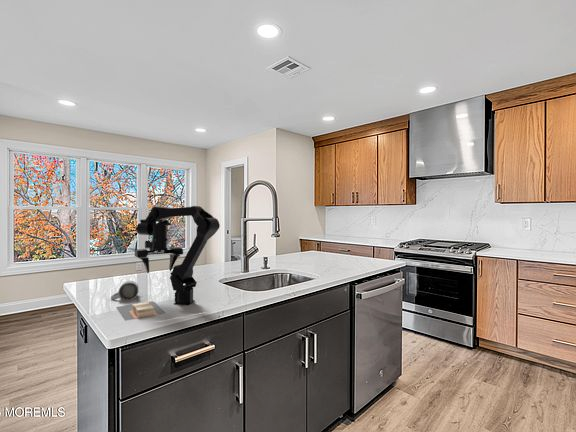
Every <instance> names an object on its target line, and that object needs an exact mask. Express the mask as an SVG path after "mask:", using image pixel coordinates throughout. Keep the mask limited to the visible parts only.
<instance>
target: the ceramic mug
mask: <svg viewBox="0 0 576 432" xmlns="http://www.w3.org/2000/svg"><path fill="white" fill-rule="evenodd" d="M138 295H139V285H138V283H137V282H135V281H134V280H125V281H124V282H122V284H121V285H120V287H119V288H118V291H117V292H116V293H114V294H112V295H111V296H110V299H111V300H112V301H115V300H118V299H121V300H122V301H127V299H130V300H132V301H133V300H134V299H135V298H137V296H138Z"/></svg>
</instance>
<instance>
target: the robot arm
mask: <svg viewBox="0 0 576 432" xmlns="http://www.w3.org/2000/svg"><path fill="white" fill-rule="evenodd" d="M189 216H191V217H192V219H193V222H194V223H195V224H196V226H197V227H196V236H195V238H194V240H193V242H192V243H191V246H190V247H189V250H188V251H187V253H186V255H185V256H184V259H183V261H182V262H181V264H177V265H175V262H176V261H177V260H178V259H179V257H181V255H184V249H183V248H182V247H180V246H172V247H170V248H169V249H168V246H167V244H168V239H169V238H168V226H172V223H171V222H170V221H169V220H170V219H172V218H175V217H176V218H177V217H189ZM139 221H140V222H139V223H138V224H137V225H136V233H137V234H138V235H141V236H152V237H151V240H145V241H144V248H140V249H135V250H134V257H136V258H137V259H139V260H141V261H142V263H143V266H144V268H145V271H146V273H147V274H150V262H149V261H150V259H149V257H148V256H151V255H164V254H169V266H168V267H169V272H170V276H169V280H170V283H171V286H172V290H173V291H175V292H174V303H173V305H176V306H177V305H178V306H190V305H191V304H193V303H194V302H195V301H196V300H194V288H196V286H197V284H198V283H197V282H198V281H196V280H195V278H194V277H193V275H194V266H195V265H196V262H198V261H197V260H198V259H199V257H200V255H201V254H202V252H203V250H204V248H205V246H206V244H207V242H208V241H209V240H210V238H212V237H213V236H214V235H216V233H217V232H218V230H220V227H221V225H220V222H219V220H218V218H216V217H214V216H213V215H212V214H211V213H209V212H208V211H206V210H205V209H204V208H203V207H201V206H200V205H192V206H185V207H184V206H183V207H171V206H169V207H168V206H152V207H151V209H150V211H149V213H148V215H147V216H146V217H145V219H143V218H142V219H140V220H139ZM148 249H149V250H148Z"/></svg>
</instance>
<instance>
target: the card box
mask: <svg viewBox="0 0 576 432" xmlns="http://www.w3.org/2000/svg"><path fill="white" fill-rule="evenodd" d="M149 302H150V301H144V302H140V303H134V304H133V303H132V304H133V312H134V313H135V314H136V315H137V317H141V316H146V315H152V314H154V307H153V306H152V305H151V304H150V303H149Z"/></svg>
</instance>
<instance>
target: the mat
mask: <svg viewBox="0 0 576 432" xmlns="http://www.w3.org/2000/svg"><path fill="white" fill-rule="evenodd" d="M148 302H149V303H150V304H151V305H152V306H153V307H154V314H152V315H146V316H141V317H137V315H136V314H135V313H134V312H133V303H132V304H126V305H119V306H115V307H116V310H117V311H118V312H119V314H120V315H121V317H122V318H123V320H124V321H125V322H126V321H131V320H135V319H141V318H146V317H151V316H152V317H153V316H158V315H162V314H167V312H166V311H165V310H164V309H163V308H161V306H159V305H158V304H157V303H156V301H154V300H153V301H148Z"/></svg>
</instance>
